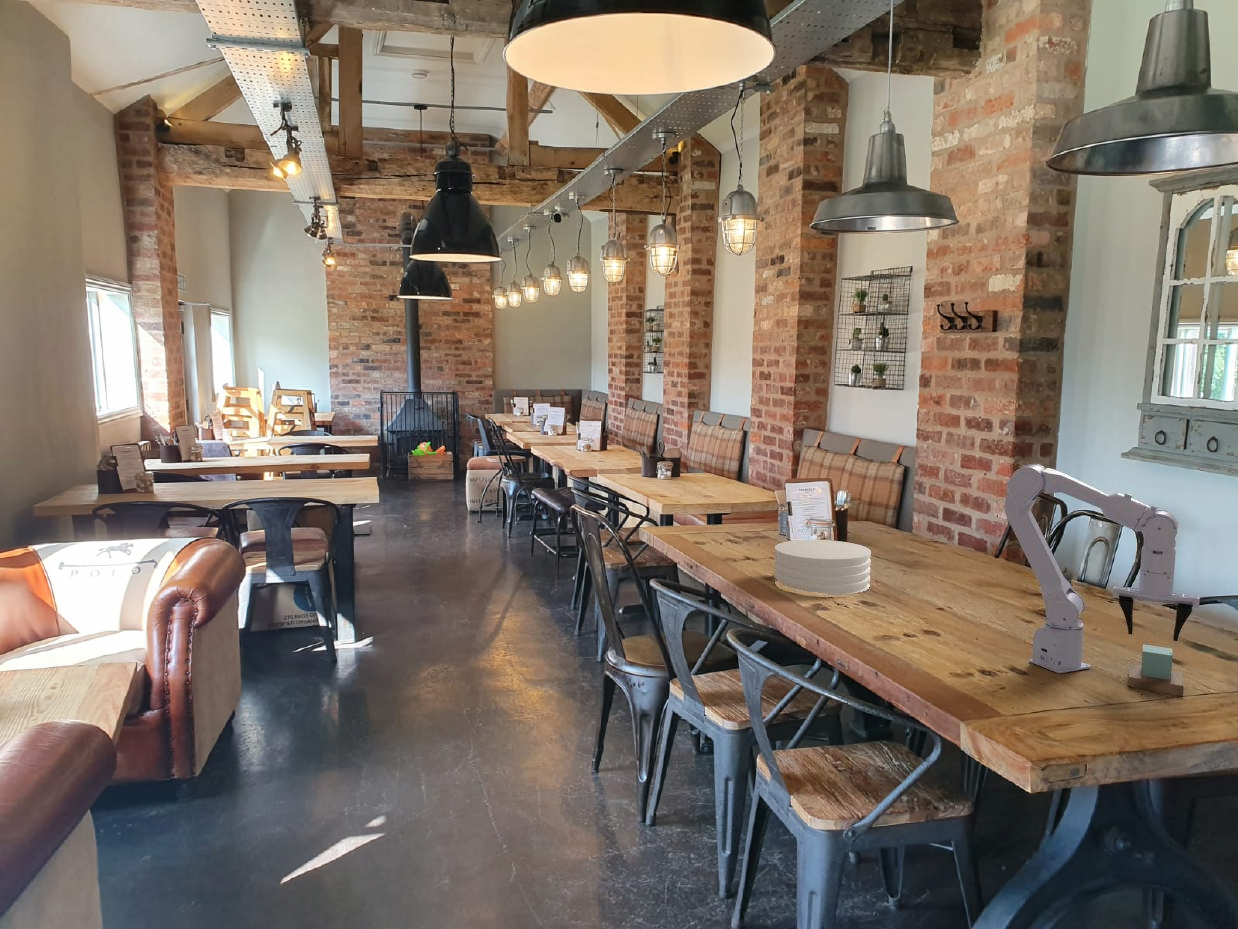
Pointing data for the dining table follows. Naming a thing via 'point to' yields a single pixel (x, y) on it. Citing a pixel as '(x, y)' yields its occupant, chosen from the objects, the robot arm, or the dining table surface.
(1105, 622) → the dining table surface
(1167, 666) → the teal cube
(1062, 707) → the dining table surface
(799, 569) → the plate stack
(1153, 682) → the walnut base
